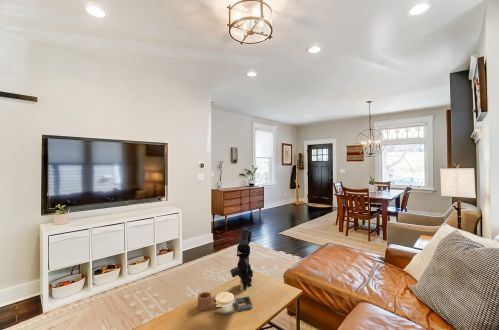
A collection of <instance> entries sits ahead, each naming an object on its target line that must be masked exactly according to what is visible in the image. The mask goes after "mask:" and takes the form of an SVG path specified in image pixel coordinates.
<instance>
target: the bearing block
mask: <svg viewBox="0 0 499 330" xmlns="http://www.w3.org/2000/svg"><path fill="white" fill-rule="evenodd" d="M245 302H247V303H248V304H247V303H246V304H242V305H239V303H245ZM234 303H235V306H236V308H237V311H238V312H239V311H244V310H245V311H246V310H249V309H250V310H251V309H253V303H252V300H251V299H250V296H242V297H235V298H234Z"/></svg>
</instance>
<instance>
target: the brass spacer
mask: <svg viewBox="0 0 499 330" xmlns="http://www.w3.org/2000/svg"><path fill="white" fill-rule="evenodd" d="M239 290H240V291H241V292H242V293H244V292H247V291H248V286H247V287H246V289H245V290H244V289H243V283H242V282H241V281H240V280H239Z"/></svg>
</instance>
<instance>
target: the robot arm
mask: <svg viewBox="0 0 499 330" xmlns="http://www.w3.org/2000/svg"><path fill="white" fill-rule="evenodd" d="M252 235H253V234H252V231H250V230H248V229H242V230H241V231H240V234H239V236H240V237H239V238H240V241H239V242H238V245H237V248H236V249H237V250H236V257H238V261H237V266H236V267H234V268H232V269H230V274H231V277H232V278H235V277H238V278H240V280H239V282H240V281H241V282H242V283H243V289H244V290H245V289H246V287H247V288H248V287H252V281H253V279H252V278H253V277H254V272H253V269H252V266H251V264H250V255H251V246H250V243H251V241H252V237H253V236H252Z"/></svg>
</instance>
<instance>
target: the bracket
mask: <svg viewBox="0 0 499 330" xmlns="http://www.w3.org/2000/svg"><path fill="white" fill-rule="evenodd" d="M197 295H198V296H197V309H198V310H200V311H209V310H213V309H217V308H216V305H217V304H216V300H215V297H216V296H213V297H212V294H211V292H210V291H209V292H207V291H204V292H200V293H199V294H197Z"/></svg>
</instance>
